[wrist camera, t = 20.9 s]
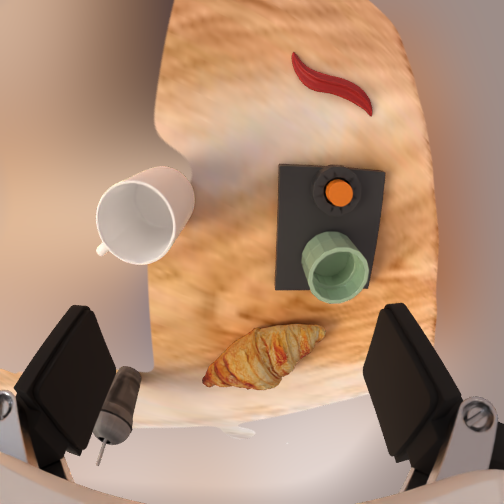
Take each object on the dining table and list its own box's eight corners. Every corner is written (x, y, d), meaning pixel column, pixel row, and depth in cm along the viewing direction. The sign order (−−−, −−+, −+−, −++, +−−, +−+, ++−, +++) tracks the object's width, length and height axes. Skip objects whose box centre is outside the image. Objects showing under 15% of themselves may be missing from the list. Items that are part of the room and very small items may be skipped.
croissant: (309, 296, 44) (307, 304, 36) (339, 350, 43) (341, 369, 35) (199, 351, 48) (178, 366, 41) (227, 399, 47) (211, 420, 39)
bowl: (303, 229, 35) (311, 247, 30) (357, 230, 35) (373, 247, 30) (298, 280, 38) (305, 304, 33) (350, 280, 38) (362, 302, 33)
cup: (209, 206, 35) (194, 235, 26) (139, 255, 38) (109, 295, 29) (170, 151, 32) (139, 161, 23) (103, 207, 35) (62, 235, 26)
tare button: (326, 178, 31) (329, 180, 30) (349, 179, 31) (354, 182, 30) (324, 202, 32) (327, 206, 31) (347, 203, 32) (351, 207, 31)
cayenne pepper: (280, 64, 28) (281, 60, 27) (305, 40, 27) (308, 35, 25) (355, 133, 31) (360, 133, 30) (378, 109, 30) (384, 108, 28)
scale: (278, 161, 33) (281, 164, 30) (381, 167, 33) (391, 171, 30) (274, 285, 40) (276, 297, 37) (364, 283, 40) (371, 294, 37)
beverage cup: (150, 369, 47) (118, 464, 28) (146, 391, 49) (120, 478, 31) (112, 355, 46) (71, 444, 27) (112, 379, 48) (77, 461, 30)
